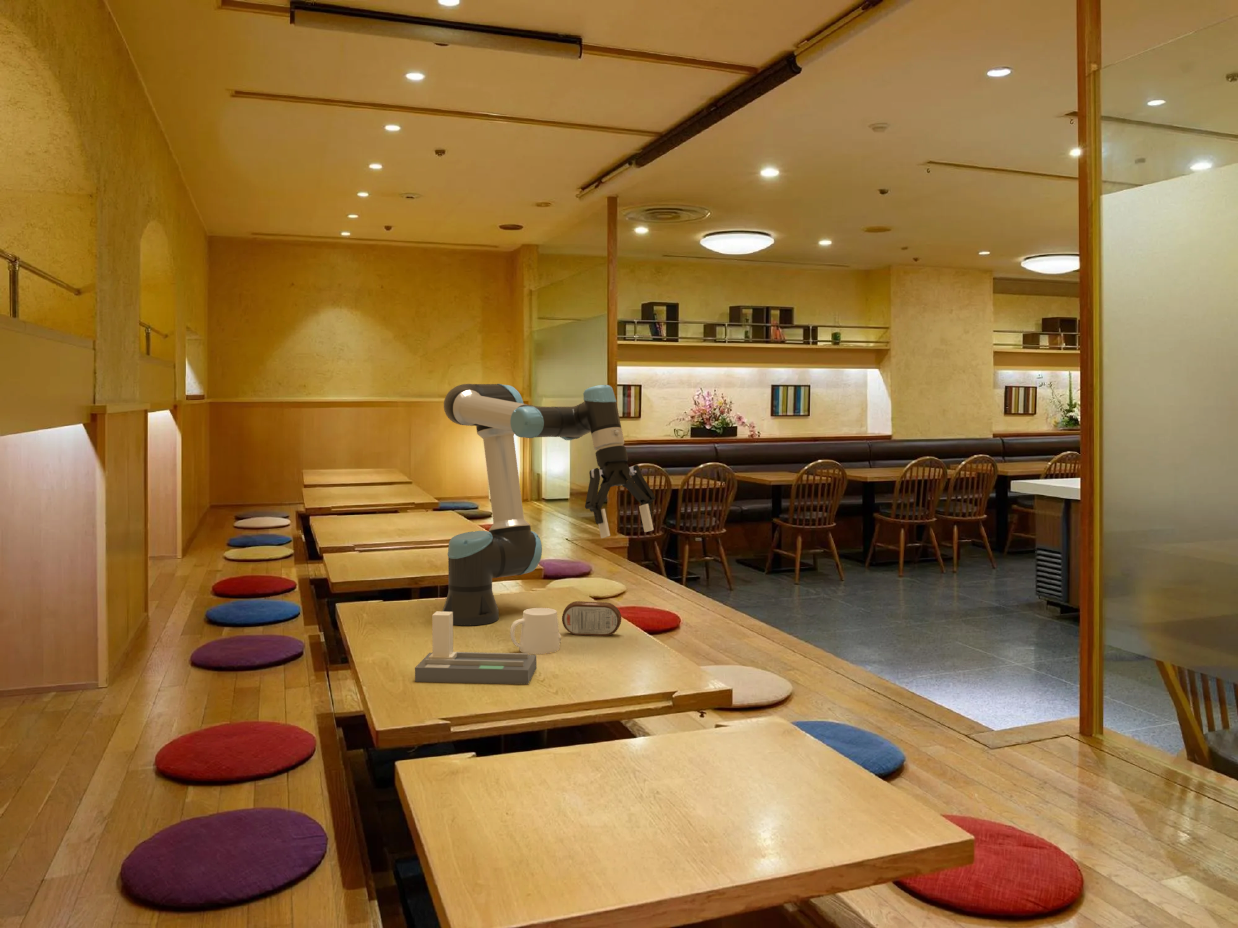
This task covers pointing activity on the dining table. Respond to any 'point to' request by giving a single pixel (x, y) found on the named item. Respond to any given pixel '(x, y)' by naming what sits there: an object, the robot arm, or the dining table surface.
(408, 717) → the dining table surface
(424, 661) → the switch panel
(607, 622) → the tin
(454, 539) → the robot arm
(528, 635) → the mug
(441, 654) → the slider tab
